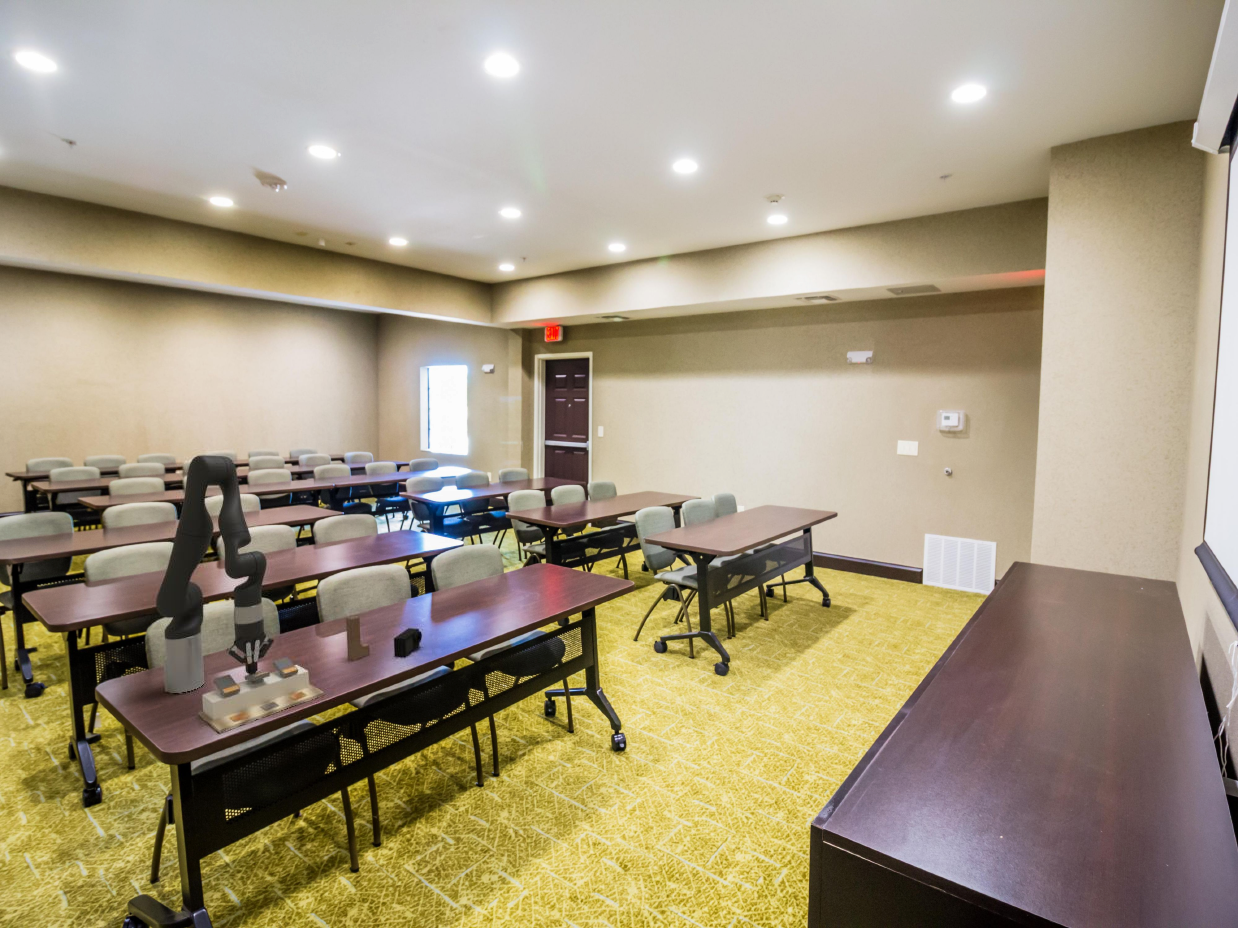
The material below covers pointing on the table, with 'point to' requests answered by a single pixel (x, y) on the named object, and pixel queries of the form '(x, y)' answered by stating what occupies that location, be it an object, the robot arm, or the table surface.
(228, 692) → the switch left
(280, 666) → the switch right
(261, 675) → the switch middle
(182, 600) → the robot arm
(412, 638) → the digital camera
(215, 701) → the switch box
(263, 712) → the chart board
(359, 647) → the wooden block
